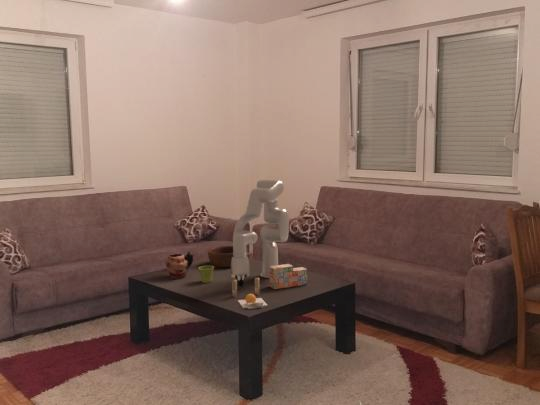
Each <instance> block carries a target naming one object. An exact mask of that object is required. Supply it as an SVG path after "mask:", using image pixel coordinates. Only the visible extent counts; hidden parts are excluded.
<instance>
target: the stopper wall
mask: <svg viewBox="0 0 540 405" xmlns="http://www.w3.org/2000/svg"><path fill="white" fill-rule="evenodd" d="M261 308H264V306H263V302H255V303H247V308H246V309H248V310H250V309H261Z"/></svg>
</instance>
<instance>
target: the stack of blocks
mask: <svg viewBox="0 0 540 405" xmlns="http://www.w3.org/2000/svg"><path fill="white" fill-rule="evenodd" d="M304 285H308V269H307V268H306V267H304V266H300V267H294V265H292V264H290V263H286V264H278V265H276V266H270V278H269V287H270V288H272V289H274V290H276V289H279V290H280V289H285V288H291V287H300V286H304Z"/></svg>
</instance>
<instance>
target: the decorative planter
mask: <svg viewBox="0 0 540 405" xmlns="http://www.w3.org/2000/svg"><path fill="white" fill-rule="evenodd" d="M187 263H188V261H187V260H185V258H184V254H183V253H173V254H168V255H167V259H166V260H165V267H166V269H167V271H168V274H169V277H170V278H172V279H182V278H185V277H187V276H186V275H187V272H186V271H187V270H186V267H187Z"/></svg>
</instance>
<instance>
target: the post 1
mask: <svg viewBox="0 0 540 405" xmlns="http://www.w3.org/2000/svg"><path fill="white" fill-rule="evenodd" d="M231 289H232V290H231V294H232V295H231V296H232V298H237V297H238V279H232V280H231Z"/></svg>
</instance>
